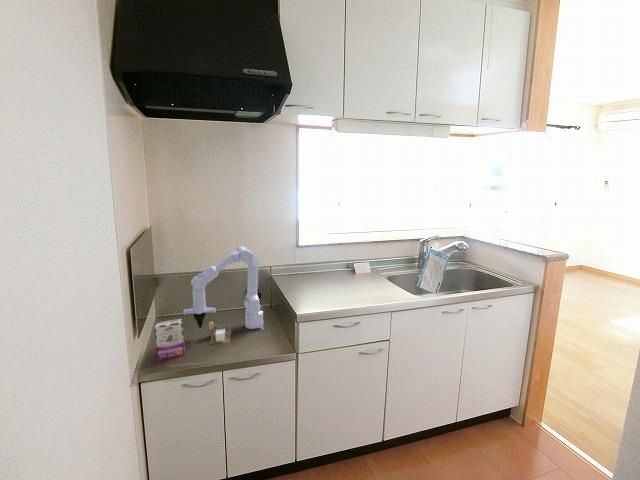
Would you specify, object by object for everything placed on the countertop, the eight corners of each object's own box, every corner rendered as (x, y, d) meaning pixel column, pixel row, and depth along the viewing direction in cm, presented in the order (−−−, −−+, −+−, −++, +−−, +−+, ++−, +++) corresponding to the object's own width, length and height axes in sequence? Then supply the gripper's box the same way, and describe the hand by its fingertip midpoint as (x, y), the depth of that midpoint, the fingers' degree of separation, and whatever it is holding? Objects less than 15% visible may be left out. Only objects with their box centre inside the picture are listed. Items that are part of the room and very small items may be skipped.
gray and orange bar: (229, 325, 167) (229, 320, 167) (229, 327, 166) (228, 322, 165) (209, 327, 165) (209, 321, 165) (209, 329, 164) (208, 323, 163)
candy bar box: (184, 350, 154) (182, 317, 150) (185, 356, 149) (182, 322, 146) (157, 355, 149) (154, 321, 146) (157, 361, 145) (154, 326, 141)
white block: (225, 333, 169) (225, 325, 168) (224, 341, 161) (224, 333, 160) (217, 333, 168) (217, 326, 167) (215, 341, 160) (215, 334, 160)
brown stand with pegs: (231, 332, 171) (231, 324, 170) (230, 343, 161) (230, 334, 160) (211, 334, 169) (211, 325, 168) (209, 345, 159) (209, 336, 158)
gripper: (181, 305, 155) (183, 331, 158) (214, 303, 158) (215, 329, 161) (184, 299, 162) (186, 324, 165) (215, 297, 165) (216, 322, 168)
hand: (200, 326), depth 163 cm, fingers closed
